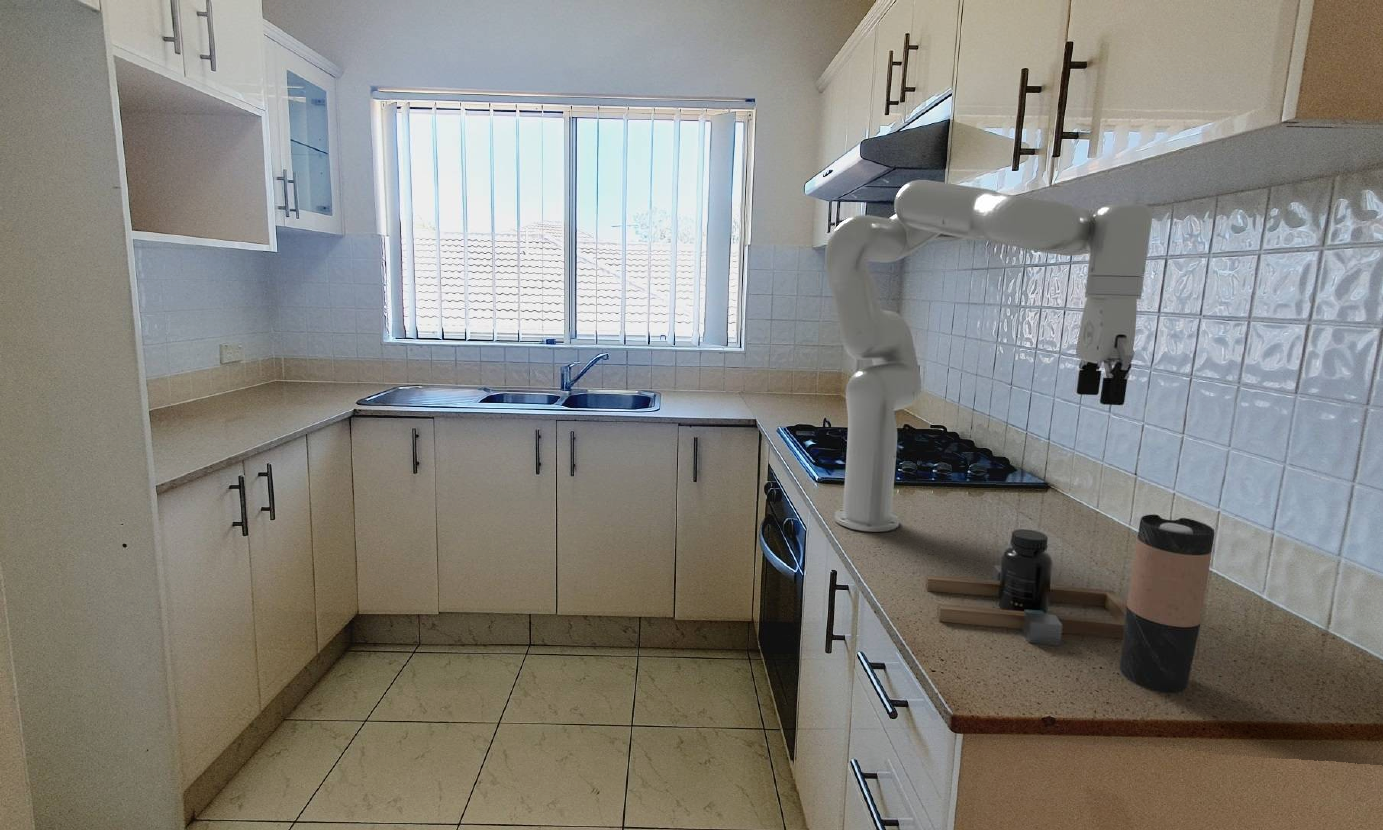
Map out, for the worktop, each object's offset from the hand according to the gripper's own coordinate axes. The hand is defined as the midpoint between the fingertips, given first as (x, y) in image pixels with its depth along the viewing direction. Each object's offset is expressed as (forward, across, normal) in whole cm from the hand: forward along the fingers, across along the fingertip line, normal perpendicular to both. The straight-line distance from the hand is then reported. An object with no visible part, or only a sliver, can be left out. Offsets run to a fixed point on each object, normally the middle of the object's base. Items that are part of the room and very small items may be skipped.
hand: (1098, 399), depth 113 cm
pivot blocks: (+30, +14, -12) cm, 35 cm away
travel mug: (+31, +30, -1) cm, 43 cm away
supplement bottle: (+31, +14, -12) cm, 36 cm away
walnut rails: (+30, +14, -12) cm, 35 cm away
